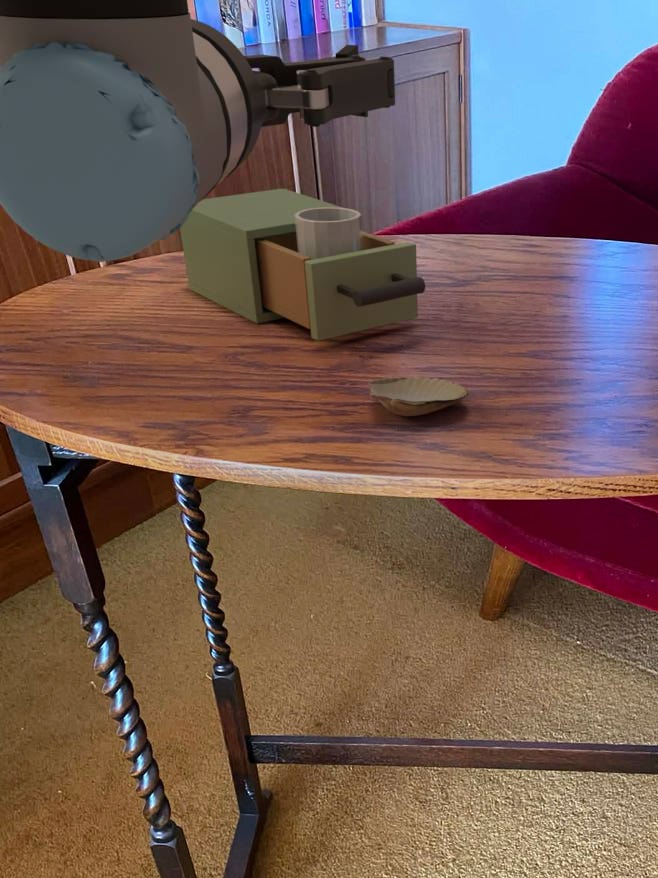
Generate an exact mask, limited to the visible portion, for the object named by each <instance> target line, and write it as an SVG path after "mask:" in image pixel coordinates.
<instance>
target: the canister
mask: <svg viewBox="0 0 658 878" xmlns="http://www.w3.org/2000/svg"><path fill="white" fill-rule="evenodd" d="M294 216H295V227H296V238H297V249H298V253H300V254H303V255H305V256H308V257H310V258H311V260H314V259H319V258H324V257H330V256H335V255H341V254H346V253H351V252H357V251H362V250H363V241H362V231H363V224H362V223H363V222H362V213H360V211H358V210H355V209H352V208H345V207H342V208H338V207H322V208H312V209H306V210H302V211H299V212H297V213H296V214H295V215H294Z"/></svg>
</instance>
